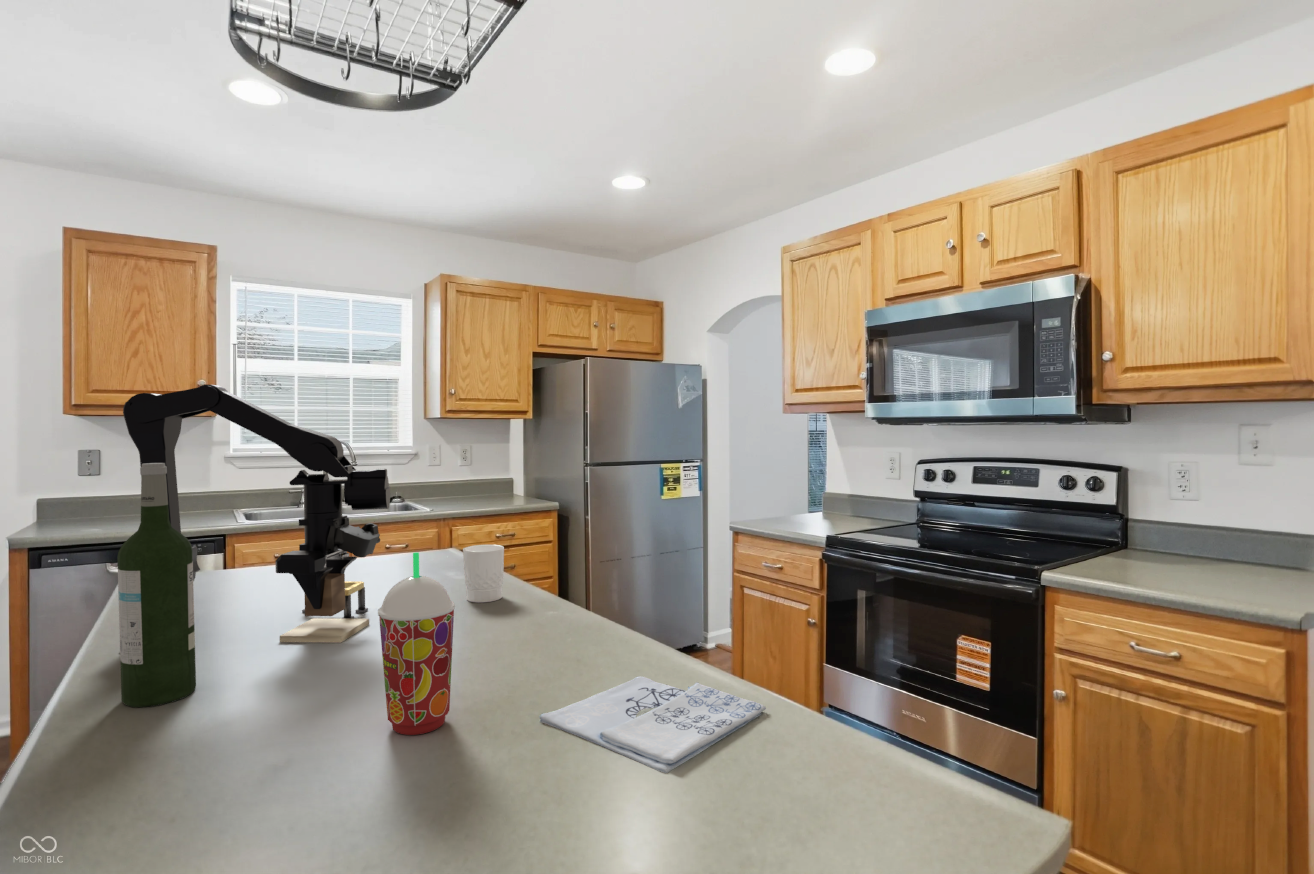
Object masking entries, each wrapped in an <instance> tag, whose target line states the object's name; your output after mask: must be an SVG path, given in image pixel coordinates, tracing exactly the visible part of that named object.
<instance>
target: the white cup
mask: <svg viewBox="0 0 1314 874" xmlns="http://www.w3.org/2000/svg"><path fill="white" fill-rule="evenodd" d="M462 555H463V556H462V557H463V572H464V585H465V587H466V588H465V592H466V596H465V597H466V600H467V602H472V603H490V602H495V601H499V600H500V599H502V597H503V584H504V566H505V564H504V563H505V562H504V561H505V547H504V546H503V545H500V544H476V545H471V546H470V545H469V546H466V547H463V548H462Z"/></svg>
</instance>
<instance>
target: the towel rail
mask: <svg viewBox="0 0 1314 874" xmlns="http://www.w3.org/2000/svg"><path fill="white" fill-rule="evenodd" d="M354 593H357V606H358V607H357V609H355V614H366V613H367V612H368V611H369V608H368V607H366V587H365V582H363V581H356V580H355V581H348V580H347V581H345V609H344V610H343V617H342V618H341V617H340V619H355V616H354V615H352V595H353V594H354ZM301 611H302V614H305V608H304V609H302V610H301Z"/></svg>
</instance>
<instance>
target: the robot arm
mask: <svg viewBox="0 0 1314 874" xmlns="http://www.w3.org/2000/svg"><path fill="white" fill-rule="evenodd" d="M122 408H123V410H122V416H123V418H124V422H125V425H126V429H127V432H128V435H129V436H130V439H131V440H132V442H133V444H134V446H135V447H136V449H137V451H138V454H139V463H140V464H139V466H140V468H141V467H142V464H146V463H165V466H166V467H167V473H166V483H167V497H168V511H169V521H170V523H171V526H172V528H174V529H175V530H177V531H178V532H180V533H181V534H182V529H181V519H180V518H181V516H180V505H179V491H178V479H177V467H176V466H177V465H176V453H175V452H176V446H177V443H178V440H179V437H180V434H181V431H182V423H183V419H188V418H191V417H196V416H200V415H201V414H204V413H208V412H212V413H214V414H215V415H218V416H220V417H221V418H224V419H225V420H228V421H230V423H234V424H236V425H237V426H239V427H242V428H244V429H245V430H248V432H249V431H250V432H251V433H254V434H256V435H257V436H260V437H261V438H264V439H266V440H267V441H270V442H271V443H273V444H276V445H277V446H278V447H280V448H281V449H282V450H283V451H285V453H287V454H288V456H290V457H291V458H292V459H294V460H295V461H296V462H297V463H299V464H301V465H302V466H303V467H305V468H306V469H308V470H310V471H312V472H325V473H315V474H314V473H313V474H312V473H308V472H307V471H306V469H301V470H299V471H298V473H297V475H296V476H295V477H294V478H292V479H291V480H290V481H289V485H290V486H303V515H304V517H303V518H300V519H298V526H299V527H301V526H303V527H304V543H301V544H299V545H298V546H299V549H298V550H292V551H288V552H286V553H282V554H280V555H279V557H278V558H276V560H275V573H276V574H290V575H292V576H293V577H294V579H295V580H296V581H297V583H298V585H299V586H300V587H301V589H302V591H303V593H304V595H305V594H306V596H307V598H308V600H309V601H310V603H311V605H312V606H313V608H314V609H321V607H322V601H323V592H324V581H325V577H326V575H327V574H345V572H346V569H347V568H348V567H349V566H350V565H351V564H352V563H353V562H354V561H356V560H357V559H358V558H365V557H367V556H369V555H373V553H374V551H375V548H376V546H377V544H380V542H381V538H380V535H381V534H380V533H379V525H378V524H375V523H372V522H368V523H366V524H364V525H363V526H362V527H361V526H358V525H357V526H353V525H351V524H350V518H349V517H348V515H343V499H344V504H345V505H347V507H348V506H349V507H351V510H352V511H366V510H367V511H371V510H374V511H376V510H389V509H390V506H391V505H390V504H391V503H390V502H391V486H390V485H389V484H390V483H389V476H388V469H387V468H378V469H377V468H376V469H372V470H370V469H368V470H363V469H362V470H357V469H356V468H355V467H354V465H353V464H352V463H351V462H350V461H349V460H348V459H347V457H346V456H345V455H344V447H343V444H342V442H341V441H340V440H339V439H338V438H336V437H335V436H332V435H329V434H326V433H322V432H319V431H316V430H312V429H308V428H305V427H302V426H299V425H295V424H292V423H291V422H289V421H287V420H285V419H283V418H280V417H279V416H277V415H274V413H271V412H269V411H267V410H265V409H263V408H262V407H259V406H257V405H255V404H254V403H252V402H250V401H248V400H246V399H243V398H242V397H240V396H237V395H236V394H233V393H231V392H230V391H228V390H227V388H225V387H223V386H221V385H217V384H216V385H215V384H202V385H200V386H198V387H194V388H189V389H184V390H183V389H182V390H177V391H173V392H172V391H171V392H168V393H167V392H166V393H153V392H152V393H151V392H142V393H141V392H140V393H136V394H135V395H133V396H131V397H130V398H129V399H128V400H127V401H125V403H124V405H123V407H122ZM329 475H330V476H332V477H334V478H346V479H330V476H329ZM343 485H344V486H343ZM342 488H343V489H344V490H343V489H342ZM342 491H343V492H342ZM343 497H344V498H343ZM192 551H193V583H194V582H195V579H196V575H197V573H198V572H199V571H201V568H200V566H199V563H198V547H197V546H196V545H195V546H194V545H193V546H192ZM350 554H353V556H350Z"/></svg>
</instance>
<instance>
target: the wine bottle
mask: <svg viewBox="0 0 1314 874" xmlns="http://www.w3.org/2000/svg"><path fill="white" fill-rule="evenodd" d="M139 472H140V473H139V474H140V476H141V477H140V479H141V480H140V481H141V483H140V484H141V485H140V523H139V527H138V528H137V529H138V530H137V531H135V532H134V533H133V534H132V535H131V536H130V537H129V538H128V539H126V540H125V542H123V544H122V545H121V546H120V547H119V550H118V552H117V559H116V560H117V584H118V585H117V589H118V591H117V592H118V617H119V618H118V621H119V623H118V624H119V627H118V628H119V651H120V652H119V656H120V657H119V659H120V661H119V662H120V689H121V691H120V693H121V694H120V695H121V702H122V703H123V704H124V705H125V706H127V707H132V708H147V707H155V706H162V705H165V704H169V703H174V702H177V701H179V700H183V699H184V698H186V697H188V696H190V695H191V694H192V693H193V692H194V691H195V690H196V686H197V675H196V673H197V672H196V671H197V669H196V635H195V634H196V632H195V600H194V599H195V597H194V596H195V595H194V582H193V551H192V547H193V546H192V545H193V544H191V542H190V540H189V539H188V538H187V537H186V536H185V535H184V534H183V533H182V532H181V533H180V532H178V531H177V530H175V529H174V528H172V526H171V523H170V521H169V511H168V497H167V483H166V473H167V467H166V466H165V463H146V464H142V467H141V466H140V467H139Z"/></svg>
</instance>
